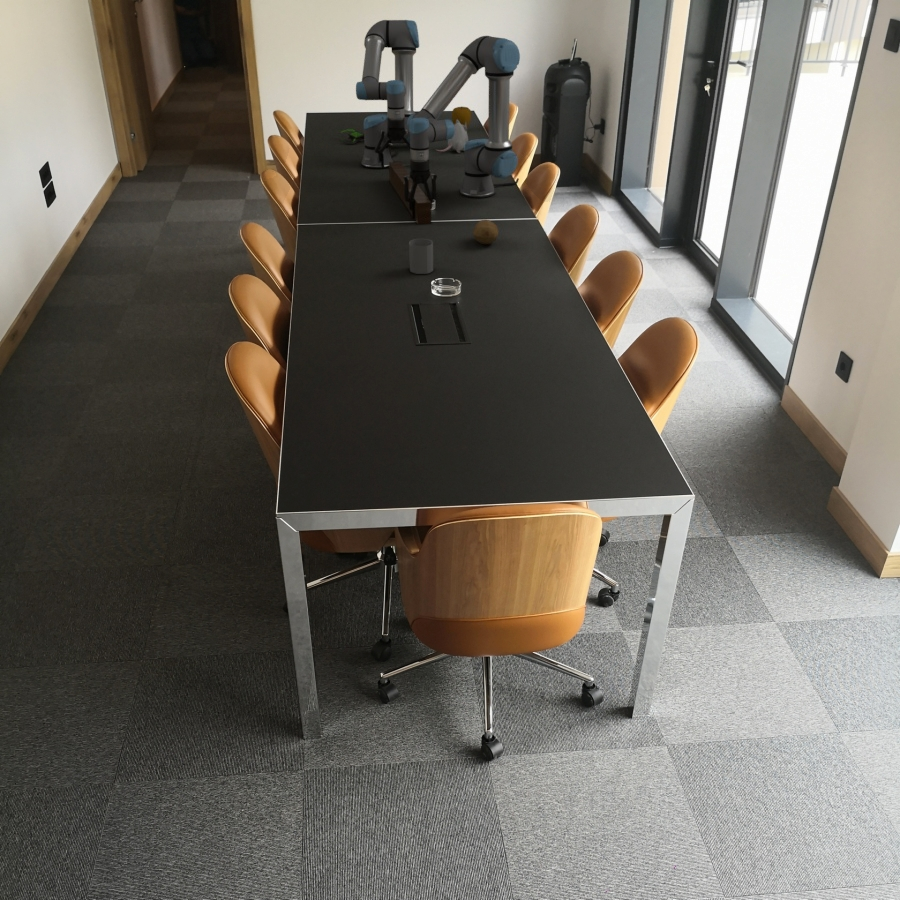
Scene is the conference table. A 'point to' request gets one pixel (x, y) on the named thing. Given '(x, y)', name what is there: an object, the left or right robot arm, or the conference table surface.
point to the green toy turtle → (353, 136)
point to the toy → (458, 138)
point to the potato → (485, 232)
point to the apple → (461, 115)
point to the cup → (421, 256)
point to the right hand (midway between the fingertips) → (420, 217)
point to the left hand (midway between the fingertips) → (397, 167)
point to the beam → (419, 198)
